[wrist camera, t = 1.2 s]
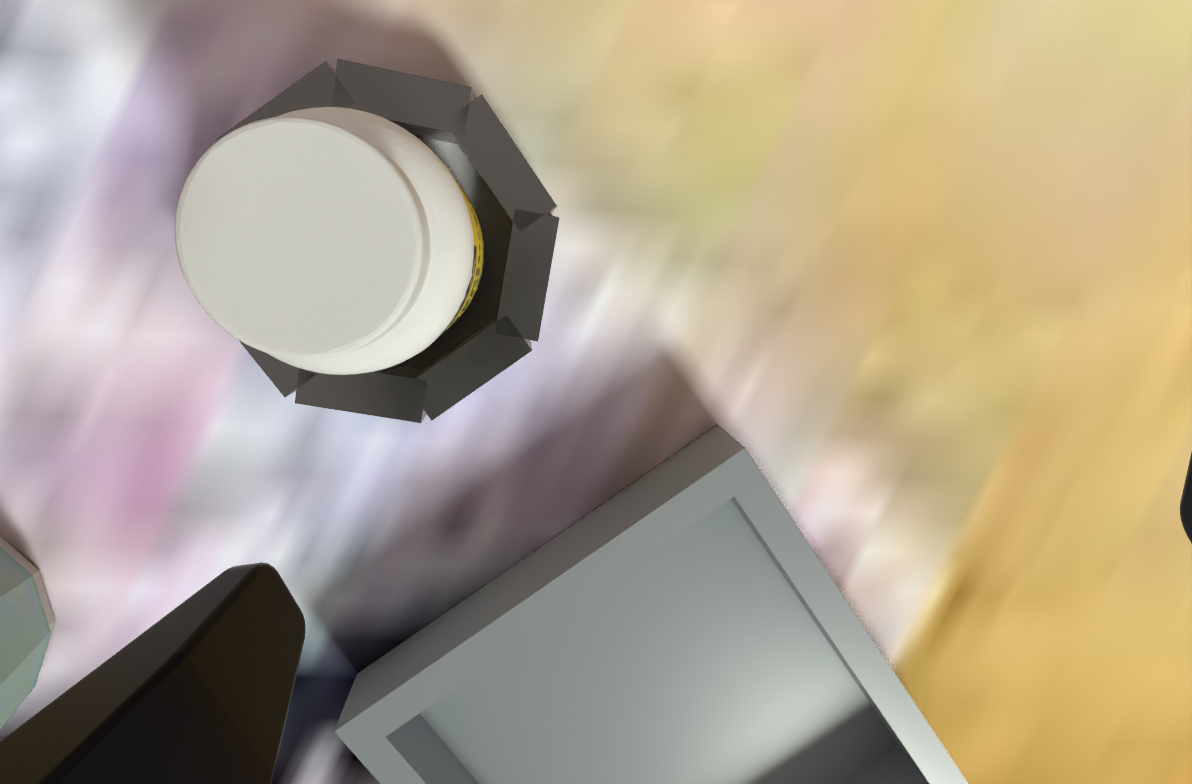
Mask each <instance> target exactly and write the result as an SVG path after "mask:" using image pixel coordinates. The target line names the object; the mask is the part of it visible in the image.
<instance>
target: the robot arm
mask: <svg viewBox="0 0 1192 784" xmlns="http://www.w3.org/2000/svg"><path fill="white" fill-rule="evenodd" d="M1180 516H1181V521H1182V525H1183V527H1184V530H1185V532H1186V534H1187V536H1188V538H1189V540H1190V541H1191V543H1192V453H1191V457H1190V462H1189V466H1188V471H1187V475H1186V480H1185V485H1184V489H1183V494H1182V498H1181V503H1180ZM304 639H305V620H304V617H303V614H302V611H301V610H300V608H299V606H298V605H297V603H296V601H295V600H294V598H293V596H292V595H291V593H290V591H289V590H288V588H287V586H286V585H285V583H284V582H283V580H282V578H281V577H280V575H279V573H278V572H277V570H276V569H275V568H274V567H272V566H271V565H269V564H267V563H255V564H248V565H240V566H235V567H232V568H229V569H227V570H226V571H224V572H223V573H221V574H220V575H219V576H217V577H216V578H215V579H214V580H212V581H211V582H210V583H208V584H207V585H206V586H204V587H203V588H202V589H200V590H199V591H198V592H196V593H195V594H194V595H192V596H191V597H190V598H189V599H187V600H186V601H185V602H183V603H182V604H181V605H179V606H178V607H177V608H175V609H174V610H173V611H171V612H170V613H169V614H167V615H166V616H165V617H163V618H162V619H161V620H160V621H158V622H157V623H156V624H154V625H153V626H152V627H150V628H149V629H148V630H146V631H145V632H144V633H142V634H141V635H140V636H138V637H137V638H136V639H134V640H133V641H132V642H131V643H129V644H128V645H127V646H125V647H124V648H123V649H121V650H120V651H119V652H117V653H116V654H115V655H113V656H112V657H111V658H109V659H108V660H107V661H106V662H104V663H103V664H102V665H100V666H99V667H98V668H96V669H95V670H94V671H92V672H91V673H90V674H88V675H87V676H86V677H84V678H83V679H82V680H80V681H79V682H78V683H77V684H75V685H74V686H73V687H71V688H70V689H69V690H67V691H66V692H65V693H63V694H62V695H61V696H59V697H58V698H57V699H55V700H54V701H53V702H51V703H50V704H49V705H48V706H46V707H45V708H44V709H42V710H41V711H40V712H38V713H37V714H36V715H34V716H33V717H32V718H30V719H29V720H28V721H26V722H25V723H24V724H23V725H21V726H20V727H19V728H17V729H16V730H15V731H13V732H12V733H11V734H9V735H8V736H7V737H5V738H4V739H3V740H1V741H0V784H270V783H271V780H272V777H273V773H274V769H275V765H276V761H277V757H278V754H279V750H280V745H281V741H282V736H283V732H284V727H285V723H286V719H287V714H288V710H289V705H290V701H291V696H292V692H293V688H294V683H295V679H296V674H297V670H298V665H299V661H300V657H301V652H302V648H303V643H304Z"/></svg>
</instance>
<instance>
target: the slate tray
mask: <svg viewBox="0 0 1192 784" xmlns="http://www.w3.org/2000/svg"><path fill="white" fill-rule="evenodd" d="M334 732H335V733H336V734H337V735H338V736H339V738H340V739H341V740H342V741H343V742H344V743H345V744H346V745H347V747H348V748H349V749H350V750H351V751H352V752H353V753H354V754H355V756H356V757H357V758H358V759H359V760H360V761H361V762H362V763H363V765H364V766H365V767H366V768H367V769H368V770H369V771H370V772H371V774H372V775H373V776H374V777H375V778H376V779H377V780H378V781H379V783H380V784H968V782H967V781H966V779H965V778H964V776H963V775H962V773H961V772H960V770H959V769H958V767H957V766H956V764H955V763H954V761H953V760H952V758H951V757H950V755H949V754H948V752H947V751H946V749H945V748H944V746H943V745H942V743H941V742H940V740H939V739H938V737H937V736H936V734H935V733H934V731H933V730H932V728H931V727H930V725H929V724H928V722H927V721H926V719H925V718H924V716H923V715H922V713H921V712H920V710H919V709H918V707H917V706H916V704H915V703H914V701H913V700H912V698H911V697H910V695H909V694H908V692H907V691H906V689H905V688H904V686H903V685H902V683H901V682H900V680H899V679H898V677H897V676H896V674H895V673H894V671H893V670H892V668H891V667H890V665H889V664H888V662H887V661H886V659H885V658H884V656H883V655H882V653H881V652H880V650H879V649H878V647H877V646H876V644H875V643H874V641H873V640H872V638H871V637H870V635H869V634H868V632H867V631H866V629H865V628H864V626H863V625H862V623H861V622H860V620H859V619H858V617H857V616H856V614H855V613H854V611H853V610H852V608H851V607H850V605H849V604H848V602H847V601H846V599H845V598H844V596H843V595H842V593H841V592H840V590H839V588H838V587H837V585H836V584H835V582H834V581H833V579H832V578H831V576H830V575H829V573H828V572H827V570H826V569H825V567H824V566H823V564H822V563H821V561H820V560H819V558H818V557H817V555H816V554H815V552H814V551H813V549H812V548H811V546H810V545H809V543H808V542H807V540H806V539H805V537H804V536H803V534H802V533H801V531H800V530H799V528H798V527H797V525H796V524H795V522H794V521H793V519H792V518H791V516H790V515H789V513H788V512H787V510H786V509H785V507H784V506H783V504H782V503H781V501H780V500H779V498H778V497H777V495H776V494H775V492H774V491H773V489H772V488H771V486H770V485H769V483H768V482H767V480H766V479H765V477H764V476H763V474H762V473H761V471H760V470H759V468H758V467H757V465H756V464H755V462H754V461H753V459H752V458H751V456H750V455H749V453H748V452H747V450H746V449H745V447H743V446H742V445H741V444H740V443H739V442H737V441H736V440H735V439H734V438H733V437H731V436H730V435H729V434H728V433H727V432H726V431H724V430H723V429H722V428H721V427H720V426H718V425H716V426H714V427H713V428H712V429H710V430H709V431H707V432H706V433H704V434H703V435H701V436H700V437H699V438H697V439H696V440H694V441H693V442H691V443H690V444H688V445H687V446H686V447H684V448H683V449H681V450H680V451H678V452H677V453H675V454H674V455H673V456H671V457H670V458H668V459H667V460H665V461H664V462H662V463H661V464H660V465H658V466H657V467H655V468H654V469H652V470H651V471H649V472H648V473H647V474H645V475H644V476H642V477H641V478H639V479H638V480H636V481H635V482H634V483H632V484H631V485H629V486H628V487H626V488H625V489H623V490H622V491H621V492H619V493H618V494H616V495H615V496H613V497H612V498H610V499H609V500H608V501H606V502H605V503H603V504H602V505H600V506H599V507H597V508H596V509H595V510H593V511H592V512H590V513H589V514H587V515H586V516H584V517H583V518H582V519H580V520H579V521H577V522H576V523H574V524H573V525H571V526H570V527H569V528H567V529H566V530H564V531H563V532H561V533H560V534H558V535H557V536H556V537H554V538H553V539H551V540H550V541H548V542H547V543H545V544H544V545H543V546H541V547H540V548H538V549H537V550H535V551H534V552H532V553H531V554H530V555H528V556H527V557H525V558H524V559H522V560H521V561H519V562H518V563H517V564H515V565H514V566H512V567H511V568H509V569H508V570H506V571H505V572H504V573H502V574H501V575H499V576H498V577H496V578H495V579H493V580H492V581H491V582H489V583H488V584H486V585H485V586H483V587H482V588H480V589H479V590H478V591H476V592H475V593H473V594H472V595H470V596H469V597H467V598H466V599H465V600H463V601H462V602H460V603H459V604H457V605H456V606H454V607H453V608H452V609H450V610H449V611H447V612H446V613H444V614H443V615H441V616H440V617H439V618H437V619H436V620H434V621H433V622H431V623H430V624H428V625H427V626H426V627H424V628H423V629H421V630H420V631H418V632H417V633H415V634H414V635H413V636H411V637H410V638H408V639H407V640H405V641H404V642H402V643H401V644H400V645H398V646H397V647H395V648H394V649H392V650H391V651H389V652H388V653H387V654H385V655H384V656H382V657H381V658H379V659H378V660H376V661H375V662H374V663H372V664H371V665H369V666H368V667H366V668H365V669H363V670H362V671H361V672H359V673H358V674H357V676H356V678H355V681H354V683H353V686H352V688H351V691H350V693H349V696H348V698H347V701H346V703H345V706H344V708H343V711H342V713H341V716H340V719H339V721H338V724H337V726H336V729H335V731H334Z"/></svg>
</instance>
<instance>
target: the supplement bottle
mask: <svg viewBox="0 0 1192 784" xmlns="http://www.w3.org/2000/svg"><path fill="white" fill-rule="evenodd" d="M175 242H176V250H177V255H178V260H179V263H180V266H181V270H182V272H183V275H184V277H185V280H186V282H187V283H188V285H189V287H190V289H191V291H192V293H193V295H194V296H195V298H196V299H197V301H198V302H199V304H200V305H201V306H202V308H203V309H204V310H205V311H206V313H207V314H208V315H209V316H210V317H211V318H212V319H213V320H214V321H215V322H216V323H217V324H218V325H219V326H220V327H222V328H223V329H224V330H225V331H227V332H228V333H229V334H231V335H232V336H233V337H235V338H236V339H238V340H240V341H241V342H243V343H245V344H247V345H249V346H251V347H253V348H255V349H258V350H260V351H263V352H265V353H267V354H269V355H271V356H273V357H274V358H276V359H278V360H280V361H283V362H285V363H287V364H289V365H292V366H294V367H298V368H301V369H305V370H308V371H313V372H317V373H324V374H337V375H349V374H360V373H367V372H374V371H378V370H382V369H385V368H389V367H392V366H394V365H397V364H399V363H401V362H404V361H406V360H408V359H409V358H411V357H413V356H415V355H417V354H418V353H420V352H422V351H423V350H425V349H426V348H427V347H428V346H430V345H431V344H432V343H433V342H434V341H435V340H437V339H438V338H439V337H440V336H441V335H442V334H443V333H444V332H445V331H446V330H447V329H448V328H449V327H450V326H451V325H453V324H454V323H455V322H456V321H457V320H458V318H459V317H460V316H461V315H462V314H463V312H464V311H465V310H466V308H467V307H468V306H469V304H470V303H471V301H472V300H473V298H474V295H475V293H476V291H477V289H478V287H479V284H480V280H481V276H482V272H483V267H484V239H483V234H482V229H481V225H480V222H479V219H478V217H477V214H476V212H475V210H474V208H473V206H472V204H471V202H470V201H469V199H468V197H467V196H466V194H465V193H464V191H463V190H462V188H461V187H460V186H459V184H458V183H457V181H456V180H455V178H454V177H453V175H452V174H451V172H450V171H449V169H448V168H447V167H446V165H445V164H444V163H443V162H442V161H441V160H440V159H439V158H438V157H437V155H436V154H435V153H434V152H433V151H432V150H431V149H430V148H429V147H428V146H427V145H425V144H424V143H423V142H422V141H421V140H419V139H418V138H417V137H415V136H414V135H413V134H411V133H410V132H408V131H407V130H405V129H404V128H402V127H400V126H399V125H397V124H395V123H393V122H391V121H389V120H387V119H385V118H383V117H380V116H377V115H374V114H371V113H368V112H364V111H360V110H355V109H350V108H341V107H318V108H309V109H302V110H296V111H292V112H288V113H285V114H282V115H280V116H277V117H273V118H268V119H263V120H259V121H255V122H252V123H249V124H247V125H244V126H242V127H240V128H238V129H236V130H234V131H232V132H230V133H228V134H227V135H225V136H224V137H222V138H221V139H219V140H218V141H217V142H216V143H214V144H213V145H212V146H211V147H209V149H208V150H207V151H206V152H205V153H204V154H203V155H202V156H201V157H200V159H199V160H198V161H197V163H196V164H195V166H194V167H193V168H192V170H191V171H190V173H189V175H188V177H187V179H186V181H185V183H184V185H183V188H182V191H181V194H180V197H179V201H178V206H177V210H176V219H175Z"/></svg>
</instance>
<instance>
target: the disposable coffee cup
mask: <svg viewBox="0 0 1192 784" xmlns="http://www.w3.org/2000/svg"><path fill="white" fill-rule="evenodd" d="M54 621H55V618H54V615H53V612H52V609H51V606H50V602H49V599H48V596H47V593H46V590H45V587H44V584H43V581H42V578H41V575H40V572H39V570H38V569H37V568H36V567H35V566H34V565H33V564H31V563H30V562H29V561H28V560H27V559H26V558H25V557H24V556H23V555H21V554H20V553H19V552H18V551H17V550H16V549H15V548H14V547H13V546H11V545H10V544H9V543H8V542H7V541H6V540H5V539H4V538H3V537H1V536H0V729H1V728H2V727H3V725H4V724H5V723H6V722H7V720H8V719H9V718H10V717H11V715H12V714H13V713H14V712H15V711H16V709H17V708H18V707H19V706H20V704H21V703H22V702H23V701H24V699H25V698H26V697H27V696H28V694H29V693H30V692H31V691H32V689H33V688H34V687H35V685H36V682H37V678H38V675H39V672H40V668H41V666H42V663H43V659H44V656H45V652H46V649H47V646H48V642H49V639H50V635H51V632H52V628H53V625H54Z"/></svg>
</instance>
